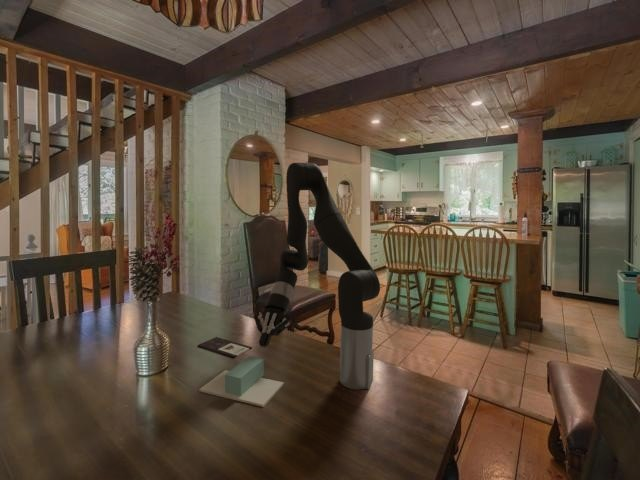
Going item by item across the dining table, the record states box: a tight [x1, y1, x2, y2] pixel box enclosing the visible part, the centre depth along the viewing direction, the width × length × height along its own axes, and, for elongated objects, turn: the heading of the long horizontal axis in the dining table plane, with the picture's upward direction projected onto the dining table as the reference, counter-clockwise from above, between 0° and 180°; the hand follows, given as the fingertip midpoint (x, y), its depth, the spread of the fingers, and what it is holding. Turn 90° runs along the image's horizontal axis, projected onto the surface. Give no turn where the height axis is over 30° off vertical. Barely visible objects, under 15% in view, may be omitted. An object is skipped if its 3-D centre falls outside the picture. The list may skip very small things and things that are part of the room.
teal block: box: [225, 356, 265, 396], centre depth 94 cm, size 5×5×12 cm
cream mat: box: [198, 369, 285, 408], centre depth 92 cm, size 20×12×1 cm, turn 70°
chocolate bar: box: [197, 336, 253, 359], centre depth 119 cm, size 9×1×18 cm
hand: (262, 346), depth 103 cm, fingers closed
